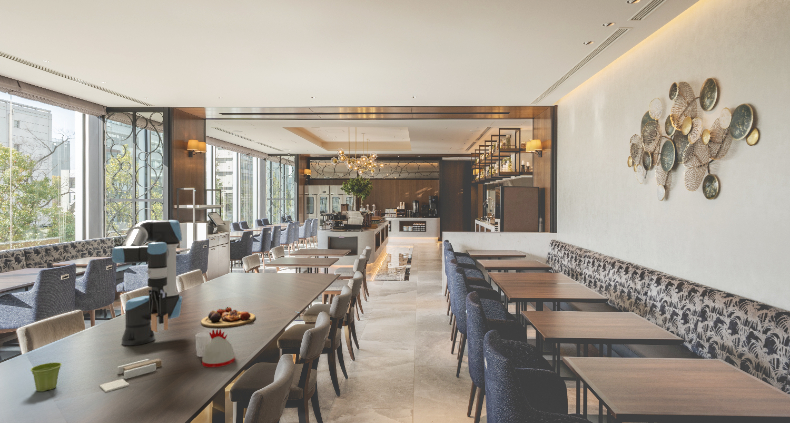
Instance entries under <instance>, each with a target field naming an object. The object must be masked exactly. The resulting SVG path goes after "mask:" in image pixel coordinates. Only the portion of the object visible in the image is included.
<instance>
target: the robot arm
mask: <svg viewBox="0 0 790 423" xmlns="http://www.w3.org/2000/svg"><path fill="white" fill-rule="evenodd" d="M182 240H183V236H182V228H181V224H180V222H179V220H177V219H156V220H155V219H153V220H151V219H147V220H143V221H140V222H137V223H135V224H133V225H131V226H130V227H129V229H128V230H127V232H126V238H125V240H124V242H123V243H122V245H121V246H114V247H113V248H112V250H111V251H112V252H111V261H112V263H113V264H121V265H122V264H134V263H135V264H136V263H147V270H146V273H147V277H148V278H147V287H149V288H151V289H148V295H142V296H138V297H137V296H136V297H133V298H131V299H128V300H127V301H126V302H125V308H124V312H125V319H124V320H125V329H124V332H123V334H122V337H121V344H122V345H123V346H140V345H144V344H145V345H146V344H148V343H151V342H153V341H154V340H155V339H156V338H155V337H156V335H155V331H152V330H151V314H156V313H158V315H157V316H156V317H157V332H156V333H158V331H159V332H161V331H162V332H163V331H165V330H164V315H166V314H168V320H171V319H176V318H177V319H178V318H179V317H180V315H181V310H182V303H183V302H182V301H183V296H181V295H180V292H179V291H177V247H178V246H179V245H180V242H181V241H182ZM145 242H147V245H143V244H144V243H145ZM148 242H149V243H148Z"/></svg>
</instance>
